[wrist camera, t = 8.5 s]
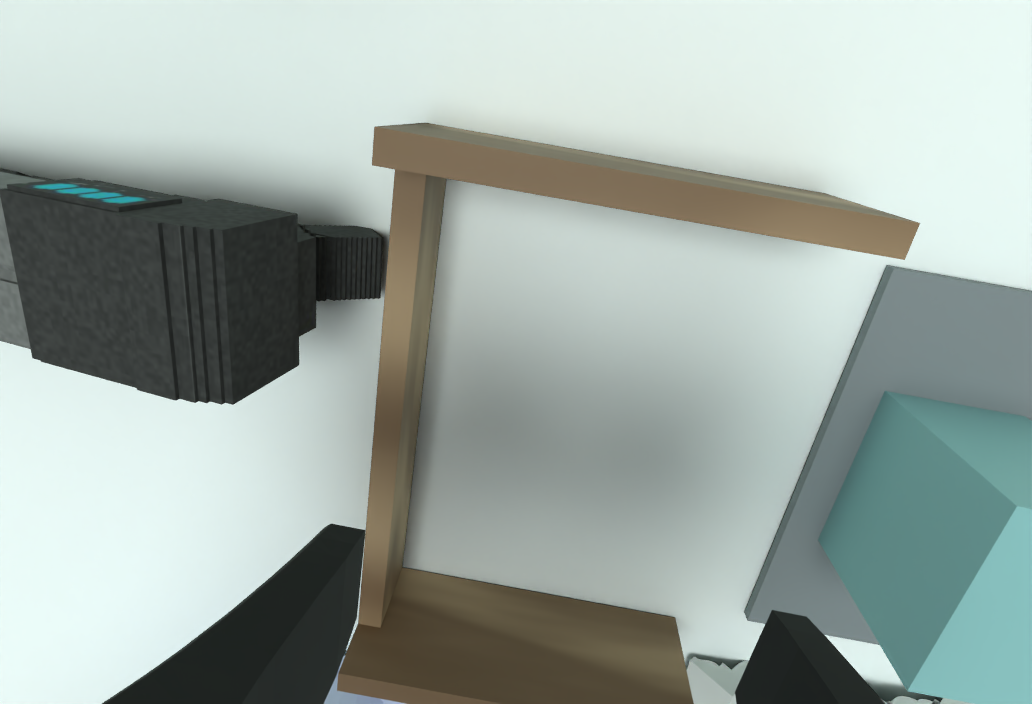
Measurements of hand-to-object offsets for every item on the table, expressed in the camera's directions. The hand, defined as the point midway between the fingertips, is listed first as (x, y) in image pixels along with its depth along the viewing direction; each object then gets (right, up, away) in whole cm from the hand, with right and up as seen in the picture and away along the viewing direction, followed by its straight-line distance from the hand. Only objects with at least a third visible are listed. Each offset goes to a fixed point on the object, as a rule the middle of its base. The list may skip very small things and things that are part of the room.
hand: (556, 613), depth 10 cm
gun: (-15, +9, +9) cm, 20 cm away
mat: (+13, 0, +10) cm, 16 cm away
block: (+13, 0, +10) cm, 16 cm away
